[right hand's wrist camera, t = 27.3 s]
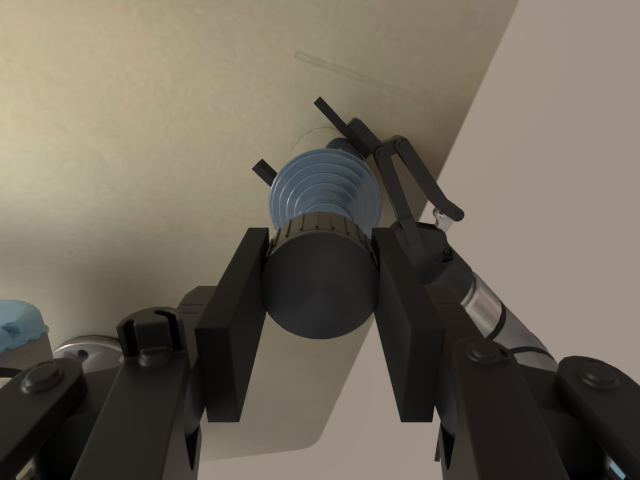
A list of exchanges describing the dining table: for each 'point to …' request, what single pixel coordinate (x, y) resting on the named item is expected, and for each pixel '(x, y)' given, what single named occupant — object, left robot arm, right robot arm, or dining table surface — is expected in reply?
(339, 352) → the dining table surface
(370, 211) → the bottle
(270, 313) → the cap
